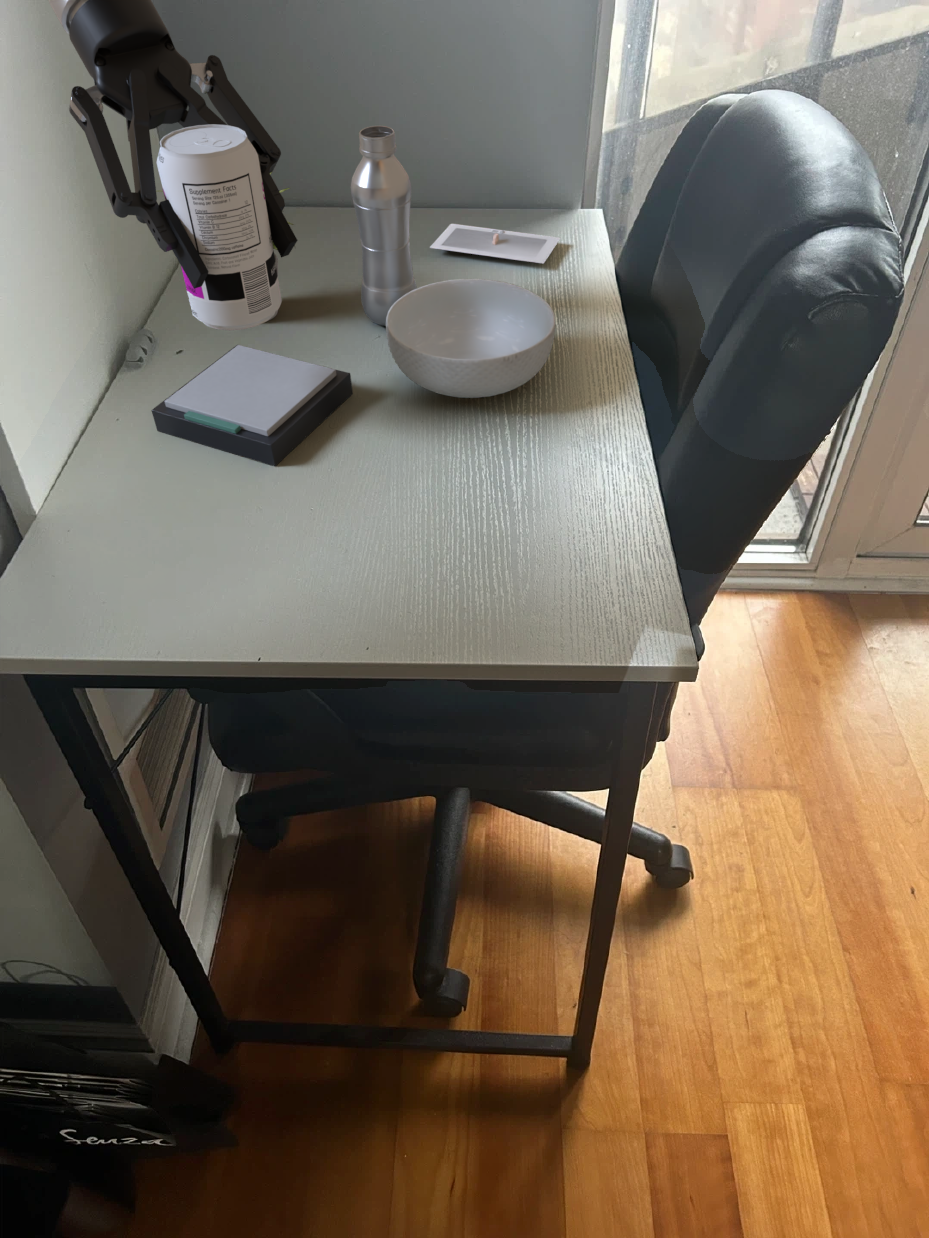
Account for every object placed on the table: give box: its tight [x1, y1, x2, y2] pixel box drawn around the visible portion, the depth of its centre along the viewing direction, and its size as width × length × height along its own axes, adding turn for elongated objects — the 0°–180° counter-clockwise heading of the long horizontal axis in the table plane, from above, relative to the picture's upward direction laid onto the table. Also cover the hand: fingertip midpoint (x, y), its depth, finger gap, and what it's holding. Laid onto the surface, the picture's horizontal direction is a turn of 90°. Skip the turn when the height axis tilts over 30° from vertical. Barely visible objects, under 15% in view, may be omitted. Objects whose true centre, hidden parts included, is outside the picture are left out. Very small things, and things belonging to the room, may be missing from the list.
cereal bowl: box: [385, 278, 557, 399], centre depth 96 cm, size 17×17×7 cm
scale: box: [151, 344, 354, 467], centre depth 94 cm, size 14×14×3 cm
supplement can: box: [156, 124, 283, 331], centre depth 82 cm, size 8×8×15 cm
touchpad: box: [429, 223, 562, 265], centre depth 120 cm, size 8×15×2 cm, turn 70°
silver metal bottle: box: [350, 125, 418, 327], centre depth 101 cm, size 6×7×20 cm
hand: (246, 264), depth 81 cm, fingers closed on supplement can, 8 cm apart
